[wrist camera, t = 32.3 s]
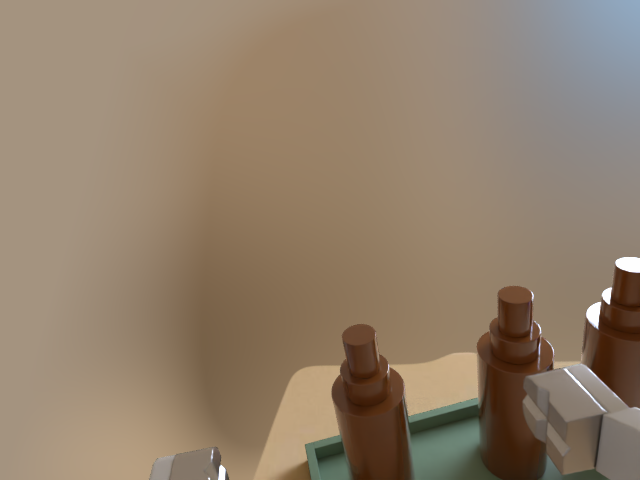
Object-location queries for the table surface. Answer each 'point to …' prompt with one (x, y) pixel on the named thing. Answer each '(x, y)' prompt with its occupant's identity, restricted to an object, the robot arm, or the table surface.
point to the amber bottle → (372, 411)
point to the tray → (433, 449)
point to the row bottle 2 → (616, 334)
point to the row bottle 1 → (510, 387)
